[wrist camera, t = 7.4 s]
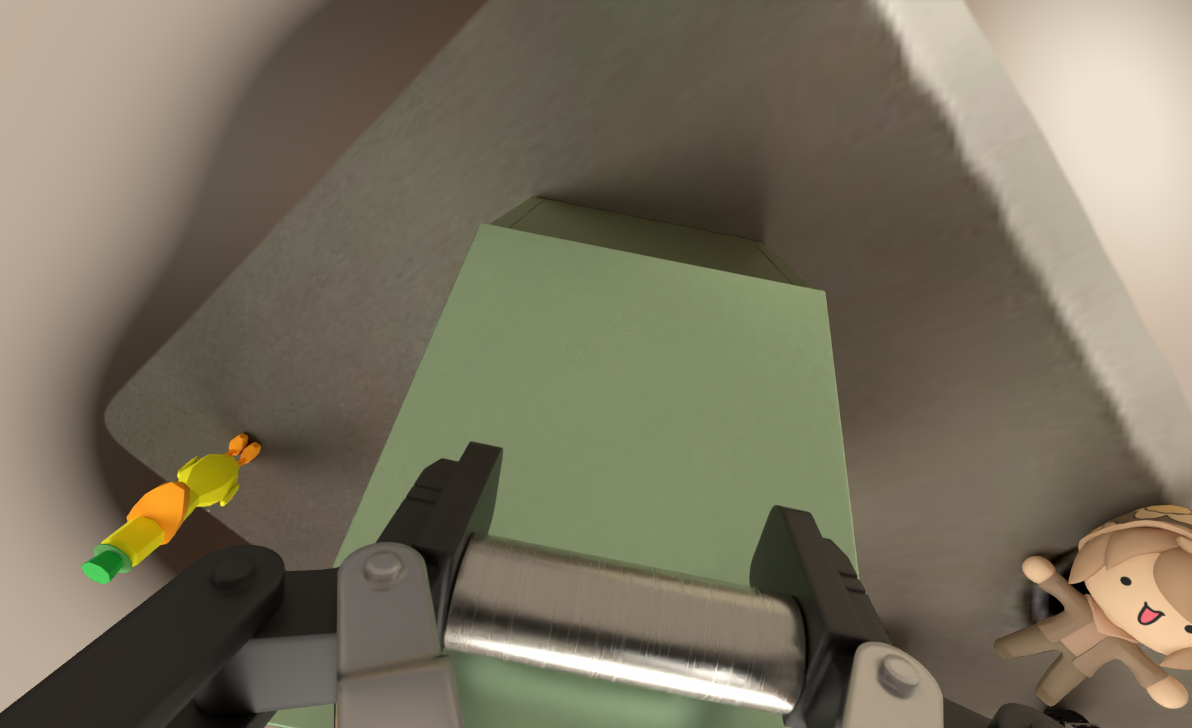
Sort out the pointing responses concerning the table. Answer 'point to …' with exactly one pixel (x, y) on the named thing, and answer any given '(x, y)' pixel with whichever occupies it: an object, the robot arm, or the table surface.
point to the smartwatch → (1070, 718)
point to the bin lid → (620, 484)
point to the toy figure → (170, 509)
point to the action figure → (1117, 605)
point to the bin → (649, 238)
